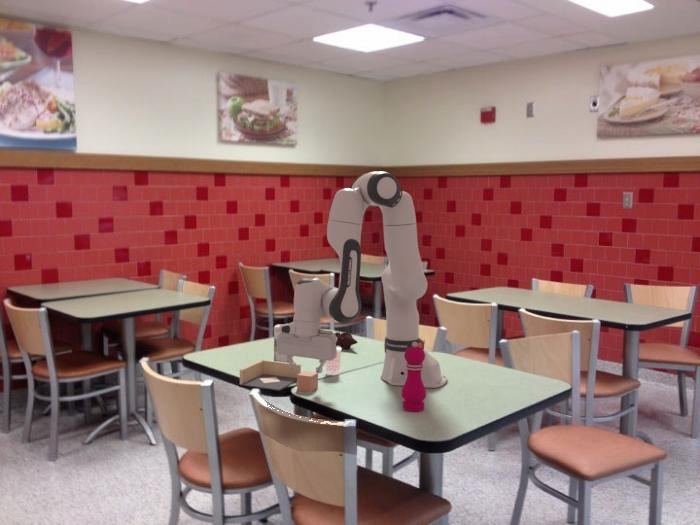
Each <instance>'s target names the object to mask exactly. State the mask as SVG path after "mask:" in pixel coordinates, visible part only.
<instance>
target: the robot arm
mask: <svg viewBox="0 0 700 525" xmlns="http://www.w3.org/2000/svg"><path fill="white" fill-rule="evenodd" d="M369 207H379V209H380V211H381V213H382V214H381V215H382V226H383V239H384V240H383V242H384V251H385V252H386V255H387V258H388V264H389V265H388V266H387V267H385V268H384V270H383V271H382V273H381V283H382V286H383V287H382V288H383V295H384V296H383V298H384V303H385V304H384V305H385V312H386V313H385V314H386V322H385V323H386V325H385V326H386V327H385V329H386V333H385V334H386V335H385V337H384V344H383V345H384V346H383V349H384V354H385V355H384V362H383V367H382V371H381V375H380V380H383V381H385V382H387V383H388V384H389V385H391V386H400V387H401V386H402V387H403V386H404V384H405V382H406V379H407V373H408V371H407V368H406V363H407V361H406V360H405V358H404V354H405V351H406V350H407V349H408V348H409V347H413V346H412V343H413V342H417V343H418V346H417V347H419V348H421V349H423V351H424V353H425V359H424V361H423V362H422V363H423V369H422V370H421V379H422V382H423V385H424V387H425V388H429V389H437V388H441V387H443V386H444V385H445V384H447V383H448V377H447V376H446V375H445V374H442V370H441V366H440V363H439V361H438V360H437V359H436V358H435V357H434V356H432V355H431V354H430V353H429V352H428V351H427V350H425V344H426V340H425V339H424V340H422V339H421V338H420V337H419V336H420V334H419V333H420V332H419V330H420V314H419V311H418V306H417V301H416V300H418V299H420V298H423V296H424V295H425V294H426V292H427V290H428V279H427V278H426V275H425V271H424V268H423V263H422V259H421V255H420V250H419V244H418V243H419V242H418V228H417V216H416V211H415V210H416V209H415V206H414V200H413V198H412V195H411V194H409V192H406V191H404V190H402V188H401V185H400V182H399V181H398V178H396V176H394V174H392V173H390V172H387V171H384V170H383V171H381V170H380V171H371V172H367V173H363V174H361V175H358V176H357V177H356V178H355V179H354V180H353V182H352V183H351V185H350V186H349V187H348V188H342V189H339V190H338V191H336V193H335V194H334V197H333V201H332V203H331V207H330V210H329V215H328V219H327V221H328V222H327V227H326V228H327V229H326V235H327V236H326V237H327V239H326V240H327V241H328V244H329V245H330V246H331V247H332V249H334V251H335V253H336V254H337V255H338V258H339V259H338V260H339V264H340V266H339V267H340V268H339V278H338V287H336V286H333V285H330V284H329V283H326V282H325V281H323V280H322V279H320V277H315V276H314V277H313V276H310V277H304V278H301V279H299V280H298V281H297V282H296V284H295V288H294V294H293V295H294V296H293V307H294V315H293V319H292V320H293V321H291V322H289V323H285V324H284V325H282V326H280V327H279V332H280V334H279V335H278V337H277V346H276V350H277V352H278V354H283V355H287V360H288V362H289V364H290V369H296V364H297V363H296V362H294V359H293V358H294V357H297V358H298V357H299V358H305V359H307V358H308V359H315V360H319V362H318V363H319V365H318V366H316V367H315V372H316V373H318V374H322V373H323V367H324V366H325V365H326V360H327V361H332V360H334V359H335V358H336V357H337V348H336V347H337V346H336V342H337V336H336V335H335V332H333V331H332V330H324V329H322V328H321V327H322V317H323V316H327V317H328V318H331V319H333V320H334V321H336V322H337V323H339V324H343V325H347V324H350V323H352V322H353V321H355V320H356V319H357V318H358V317H359V315H360V313H361V310H362V302H361V296H360V276H361V264H362V262H361V261H362V248H361V238H362V236H361V235H362V229H363V222H364V216H365V213H366V210H367V209H368V208H369ZM333 334H334V335H333Z"/></svg>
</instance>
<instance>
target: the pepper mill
mask: <svg viewBox="0 0 700 525" xmlns="http://www.w3.org/2000/svg"><path fill="white" fill-rule="evenodd" d="M412 346H413V347H409V348H408V349H407V350H406V351H405V354H404V358H405V360H406V361H407V363H406V368H407V371H408V373H407V379H406V382H405V384H404V386H402V389H401V397H402V400H404V401H403V402H402V409H403V410H404V411H406V412H410V413H412V412H413V413H418V412H423V411H424V410H425V402H424V401H425V399H426V397H427V389H426V387H424V385H423V382H422V379H421V370H422V369H423V363H422V362H423V361H424V359H425V353H424V351H423V349H421V348H419V347H417V346H418V343H417V342H413V343H412Z"/></svg>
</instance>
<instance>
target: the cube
mask: <svg viewBox="0 0 700 525" xmlns="http://www.w3.org/2000/svg"><path fill="white" fill-rule="evenodd" d="M318 388H319V373H316V371H315V372H314V371H308V370H307V371H306V370H304V371H301V373H300V374H298V375H297V381H296V390H297V391H302V392H303V391H304V392H308V393H309V392H310V393H311V392H314V391H315V390H316V389H318Z"/></svg>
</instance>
